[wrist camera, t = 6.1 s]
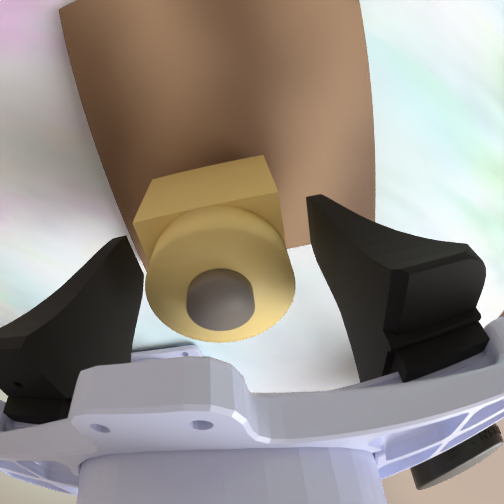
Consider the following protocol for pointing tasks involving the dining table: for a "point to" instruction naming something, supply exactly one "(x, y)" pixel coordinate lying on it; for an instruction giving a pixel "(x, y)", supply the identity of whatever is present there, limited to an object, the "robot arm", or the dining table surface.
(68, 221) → the dining table surface
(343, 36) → the board
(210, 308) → the yellow socket block
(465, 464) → the jar
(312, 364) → the dining table surface
